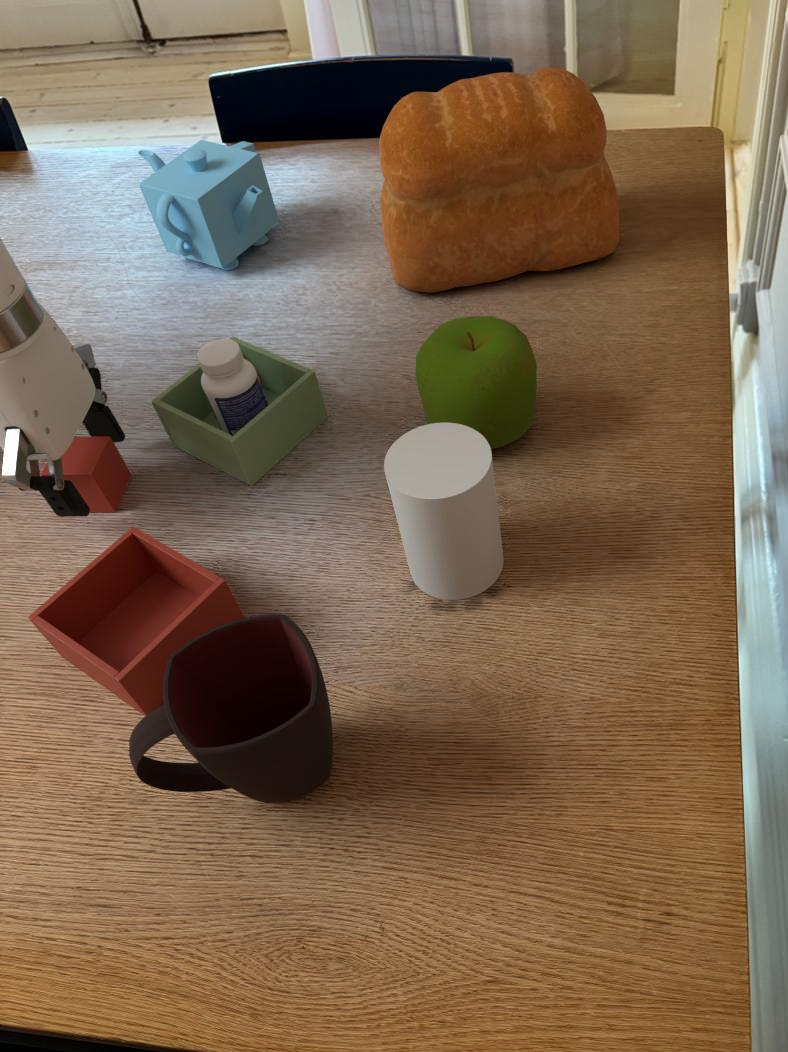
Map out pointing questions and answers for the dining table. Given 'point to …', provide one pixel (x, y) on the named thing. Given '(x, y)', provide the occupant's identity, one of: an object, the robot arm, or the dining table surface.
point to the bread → (496, 180)
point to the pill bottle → (230, 385)
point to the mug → (242, 714)
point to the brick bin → (134, 615)
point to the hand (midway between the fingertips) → (93, 475)
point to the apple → (479, 377)
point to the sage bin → (265, 435)
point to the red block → (95, 471)
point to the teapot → (210, 202)
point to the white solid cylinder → (446, 509)
